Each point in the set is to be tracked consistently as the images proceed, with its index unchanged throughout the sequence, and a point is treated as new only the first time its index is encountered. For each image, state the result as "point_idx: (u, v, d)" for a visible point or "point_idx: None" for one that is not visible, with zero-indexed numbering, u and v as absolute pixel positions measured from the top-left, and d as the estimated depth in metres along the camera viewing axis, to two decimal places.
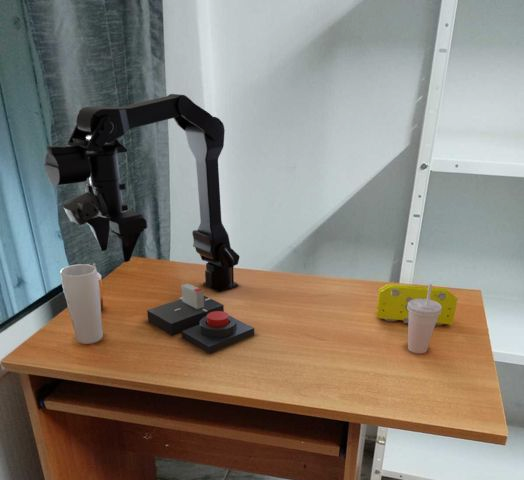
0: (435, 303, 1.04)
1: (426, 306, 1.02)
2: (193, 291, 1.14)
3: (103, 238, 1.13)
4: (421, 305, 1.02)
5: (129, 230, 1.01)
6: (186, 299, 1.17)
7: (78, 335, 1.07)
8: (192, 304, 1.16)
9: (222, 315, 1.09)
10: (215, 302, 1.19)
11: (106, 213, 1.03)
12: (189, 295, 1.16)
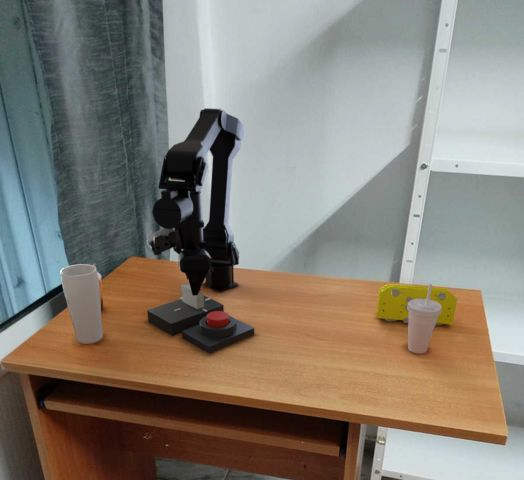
0: (435, 303, 1.04)
1: (426, 306, 1.02)
2: None
3: None
4: (421, 305, 1.02)
5: (189, 268, 1.04)
6: (186, 299, 1.17)
7: (78, 335, 1.07)
8: (192, 304, 1.16)
9: (222, 315, 1.09)
10: (215, 302, 1.19)
11: (180, 248, 1.08)
12: (189, 295, 1.16)
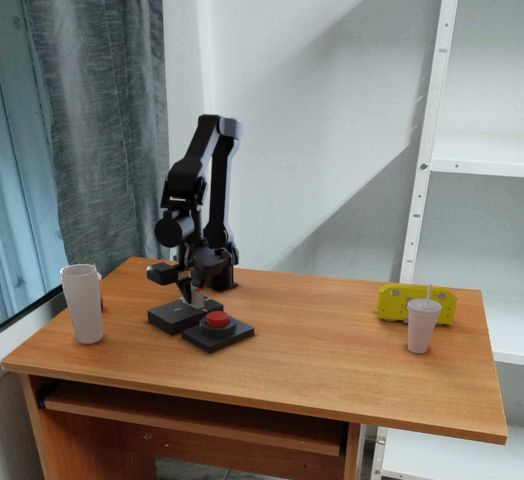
0: (435, 303, 1.04)
1: (426, 306, 1.02)
2: (193, 291, 1.14)
3: None
4: (421, 305, 1.02)
5: None
6: None
7: (78, 335, 1.07)
8: (192, 304, 1.16)
9: (222, 315, 1.09)
10: (215, 302, 1.19)
11: None
12: None
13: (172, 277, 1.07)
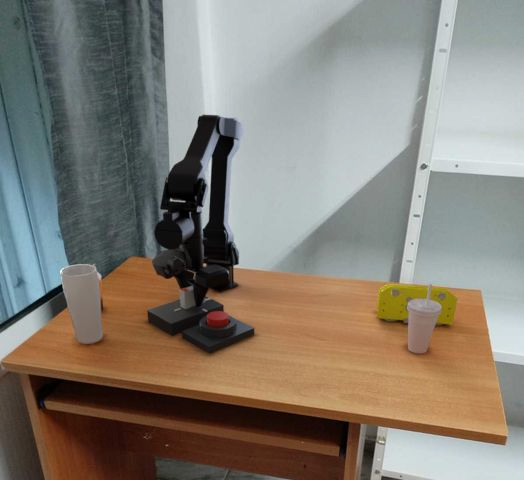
0: (435, 303, 1.04)
1: (426, 306, 1.02)
2: None
3: None
4: (421, 305, 1.02)
5: (214, 284, 1.07)
6: None
7: (78, 335, 1.07)
8: None
9: (222, 315, 1.09)
10: (215, 302, 1.19)
11: (190, 267, 1.10)
12: None
13: None
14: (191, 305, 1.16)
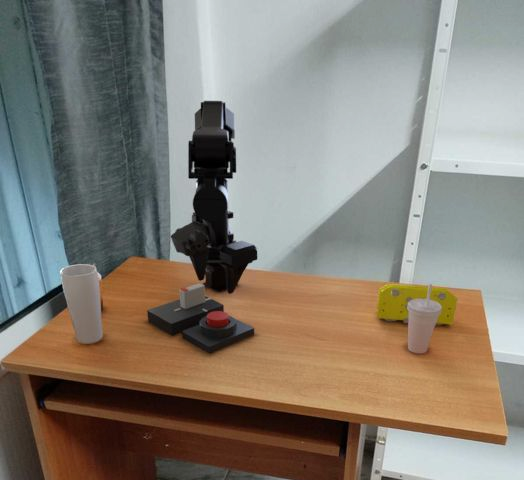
0: (435, 303, 1.04)
1: (426, 306, 1.02)
2: None
3: (201, 267, 1.08)
4: (421, 305, 1.02)
5: (241, 262, 0.95)
6: None
7: (78, 335, 1.07)
8: None
9: (222, 315, 1.09)
10: (215, 302, 1.19)
11: (214, 243, 0.98)
12: None
13: None
14: (191, 305, 1.16)
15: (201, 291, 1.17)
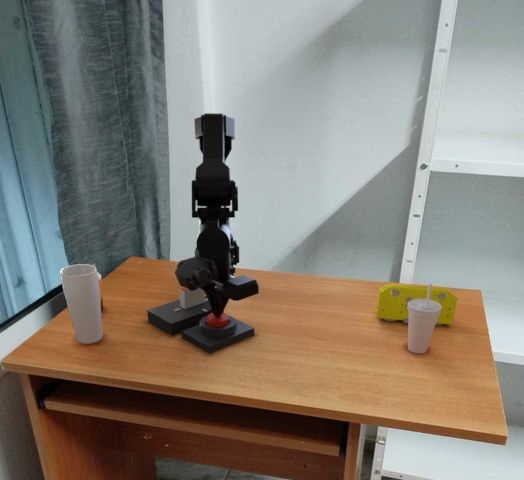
0: (435, 303, 1.04)
1: (426, 306, 1.02)
2: None
3: None
4: (421, 305, 1.02)
5: (243, 297, 0.99)
6: None
7: (78, 335, 1.07)
8: None
9: (222, 317, 1.09)
10: None
11: (217, 278, 1.01)
12: None
13: None
14: (191, 305, 1.16)
15: (201, 291, 1.17)
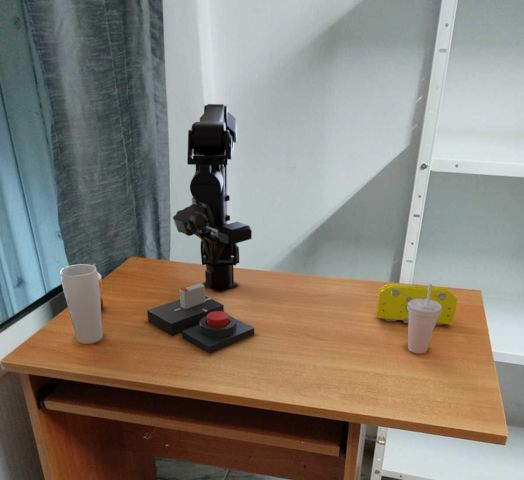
0: (435, 303, 1.04)
1: (426, 306, 1.02)
2: None
3: None
4: (421, 305, 1.02)
5: (237, 241, 1.05)
6: None
7: (78, 335, 1.07)
8: None
9: (222, 315, 1.09)
10: (215, 302, 1.19)
11: (212, 224, 1.08)
12: None
13: None
14: (191, 305, 1.16)
15: (201, 291, 1.17)
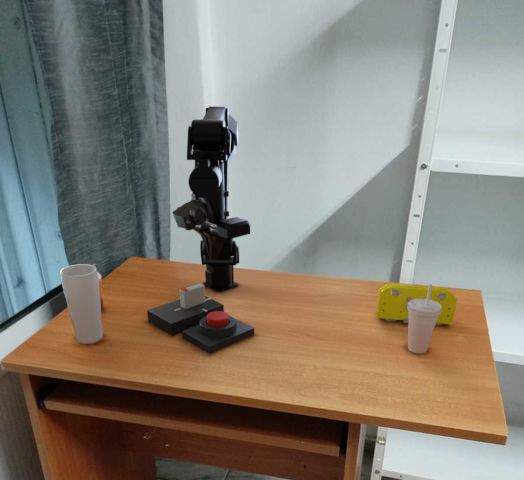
0: (435, 303, 1.04)
1: (426, 306, 1.02)
2: None
3: None
4: (421, 305, 1.02)
5: (236, 235, 1.07)
6: None
7: (78, 335, 1.07)
8: None
9: (222, 315, 1.09)
10: (215, 302, 1.19)
11: (212, 219, 1.09)
12: None
13: None
14: (191, 305, 1.16)
15: (201, 291, 1.17)
